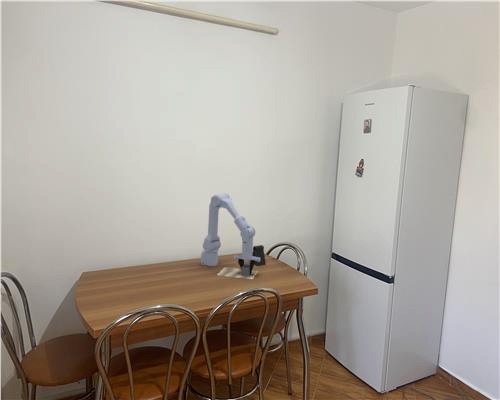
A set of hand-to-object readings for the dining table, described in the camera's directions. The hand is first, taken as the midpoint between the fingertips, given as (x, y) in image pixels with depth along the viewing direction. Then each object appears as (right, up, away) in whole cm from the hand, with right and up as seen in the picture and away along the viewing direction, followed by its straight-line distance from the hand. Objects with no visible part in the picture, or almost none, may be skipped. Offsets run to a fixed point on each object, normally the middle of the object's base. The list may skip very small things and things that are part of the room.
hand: (246, 272), depth 201 cm
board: (-5, -1, +1) cm, 5 cm away
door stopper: (+7, +1, +19) cm, 20 cm away
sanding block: (0, -1, 0) cm, 0 cm away
